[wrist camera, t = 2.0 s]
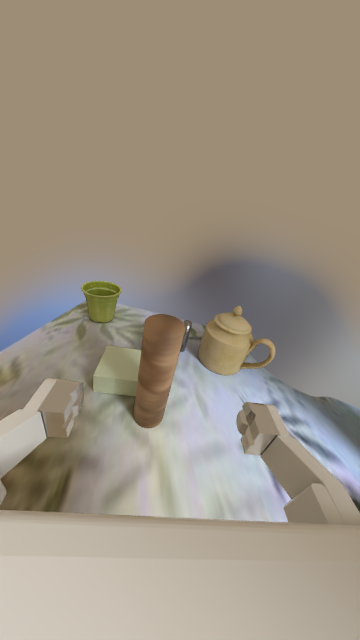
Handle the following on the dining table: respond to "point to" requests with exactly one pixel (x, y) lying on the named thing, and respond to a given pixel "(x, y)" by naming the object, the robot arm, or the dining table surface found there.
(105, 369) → the block
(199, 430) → the dining table surface
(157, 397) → the brown wooden cylinder
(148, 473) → the dining table surface
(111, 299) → the plant pot
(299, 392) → the dining table surface
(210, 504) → the dining table surface
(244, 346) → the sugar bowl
